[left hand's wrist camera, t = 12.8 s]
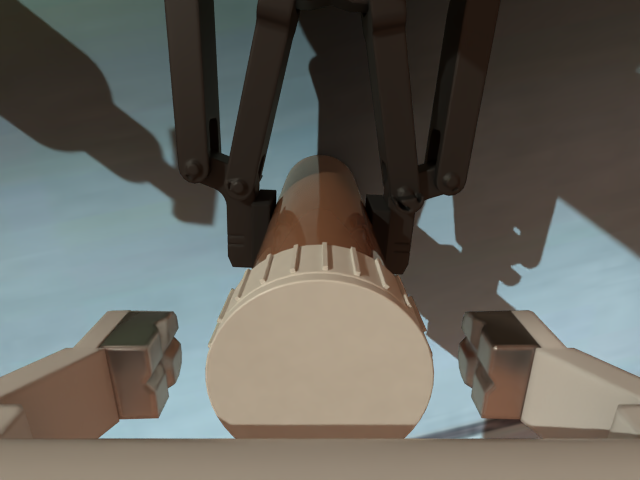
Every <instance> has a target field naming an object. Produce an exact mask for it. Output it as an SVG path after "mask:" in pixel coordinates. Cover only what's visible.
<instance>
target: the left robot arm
mask: <svg viewBox="0 0 640 480" xmlns="http://www.w3.org/2000/svg"><path fill="white" fill-rule="evenodd" d="M178 328H179V327H178V322H177V316H176V314H175V313H174V312H173V311H131V310H120V311H107V312H106V314H105V315H104V316H103V317H102V318H101V319H100V320H99V321H98V322H97V323H96V324H95V325H94V326H93V327H92V328H91V329H90V331H89V332H88V333H87V334H86V335H85V336H84V337H83V338H82V339H81V340H80V341H79V342H78V343H77V344H76V345H75V346H74V348H65V349H63V350H60V351H58V352H56V353H54V354H51V355H49V356H47V357H45V358H42V359H40V360H38V361H36V362H33V363H31V364H29V365H27V366H24V367H22V368H20V369H18V370H15V371H13V372H11V373H9V374H6V375H4V376H2V377H0V480H640V377H638V376H636V375H633V374H631V373H629V372H627V371H624V370H622V369H620V368H618V367H615V366H613V365H611V364H609V363H606V362H604V361H602V360H600V359H597V358H595V357H593V356H591V355H589V354H586V353H584V352H582V351H580V350H577V349H575V348H567V347H566V346H565V345H564V344H563V343H562V342H561V341H560V340H559V339H558V338H557V337H556V336H555V335H554V334H553V333H552V331H551V330H550V329H549V328H548V327H547V326H546V325H545V324H544V323H543V322H542V321H541V320H540V319H539V318H538V317H537V316H536V314H535V313H534V312H532V311H529V310H520V311H478V312H465V314H464V317H463V321H462V330H463V331H464V333H465V335H466V337H465V338H464V339H463V340H462V342H461V343H460V344H459V352H458V361H459V369H460V373H461V376H462V379H463V381H464V383H465V384H466V385H468V386H469V387H471V388H472V394H471V398H472V400H473V402H474V404H475V406H476V408H477V410H478V412H479V414H480V416H481V418H494V419H521V422H522V423H524V424H525V425H526V426H527V427H529V428H530V429H531V430H532V431H534V432H535V433H536V434H537V435H539V436H540V437H541V438H542V439H98V438H99V437H100V436H102V435H103V434H104V433H105V432H107V431H108V430H109V429H110V428H112V427H113V426H114V425H115V424H117V423H118V422H119V419H145V418H159V416H160V414H161V412H162V410H163V408H164V406H165V404H166V402H167V400H168V398H169V394H168V388H169V387H171V386H172V385H174V384H175V383H176V381H177V379H178V376H179V374H180V369H181V364H182V350H181V344H180V343H179V342H178V340H177V339H176V338H175V337H174V335H175V333H176V332H177V330H178Z"/></svg>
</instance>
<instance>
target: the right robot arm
mask: <svg viewBox="0 0 640 480" xmlns="http://www.w3.org/2000/svg"><path fill="white" fill-rule="evenodd" d="M164 2H165V13H166V25H167V37H168V49H169V60H170V72H171V84H172V96H173V107H174V119H175V131H176V142H177V154H178V166H179V171H180V174H181V176H182V177H183V178H184V179H185V180H186V181H188V182H190V183H202V184H204V185H207V186H209V187H212V188H214V189H216V190H218V191H219V192H220V193H221V194H222V195H223V196H224V198H225V200H226V204H227V233H228V257H229V259H230V262H231V264H232V266H233V267H247V268H253V265H254V262H255V260H256V257H257V254H258V252H259V249H260V247H261V244H262V241H263V239H264V236H265V233H266V231H267V228H268V225H269V223H270V220H271V217H272V215H273V212H274V210H275V207H276V190H262V189H260V191H259V182H260V180H261V178H262V176H263V175H262V171H263V167H264V162H265V158H266V153H267V149H268V145H269V140H270V136H271V132H272V127H273V123H274V118H275V114H276V110H277V105H278V101H279V97H280V92H281V88H282V84H283V79H284V75H285V70H286V66H287V62H288V57H289V53H290V49H291V44H292V40H293V36H294V34H295V31H296V27H297V23H298V18H299V14H300V9H302V10H314V9H318V8H322V7H326V6H335V7H338V8H340V9H343V10H346V11H349V12H356V13H361V18H362V26H363V33H364V38H365V41H366V48H367V56H368V64H369V72H370V81H371V89H372V97H373V105H374V113H375V122H376V130H377V138H378V146H379V154H380V163H381V171H382V179H383V186H384V195H383V196H382V195H366V205H365V208H366V211H367V214H368V216H369V219H370V222H371V224H372V227H373V230H374V233H375V235H376V238H377V241H378V243H379V246H380V249H381V252H382V254H383V257H384V260H385V262H386V265H387V268H388V270H389V271H390V272H391V273H392V274H403V273H404V271H405V269H406V267H407V266H408V262H409V255H410V247H411V239H412V232H413V224H414V216H415V212H417V211H418V210H419V209H420V208H421V207H422V205H423V203H424V201H425V200H427V199H429V198H433V197H436V196H439V195H443V194H445V195H448V196H450V195H455V194H457V193H459V192H460V191H461V190H462V189H463V188H464V186H465V183H466V179H467V174H468V168H469V163H470V158H471V153H472V147H473V142H474V137H475V132H476V126H477V121H478V116H479V111H480V105H481V100H482V95H483V90H484V84H485V79H486V74H487V69H488V63H489V58H490V53H491V48H492V42H493V37H494V32H495V27H496V21H497V16H498V11H499V6H500V0H450V3H449V8H448V13H447V19H446V25H445V32H444V38H443V45H442V51H441V58H440V64H439V71H438V77H437V84H436V90H435V97H434V103H433V110H432V116H431V123H430V129H429V136H428V142H427V149H426V155H425V162H424V164H420V165H418V162H417V151H416V140H415V130H414V119H413V108H412V97H411V86H410V76H409V65H408V54H407V43H406V31H405V27H406V16H407V14H406V1H405V0H258V4H257V19H256V26H255V31H254V36H253V41H252V46H251V51H250V56H249V61H248V66H247V71H246V76H245V81H244V86H243V91H242V96H241V101H240V106H239V111H238V116H237V121H236V126H235V131H234V136H233V141H232V146H231V151H230V156H227V155H224V154H222V153H221V137H220V117H219V97H218V77H217V57H216V38H215V18H214V0H164Z"/></svg>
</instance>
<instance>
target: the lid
mask: <svg viewBox="0 0 640 480" xmlns="http://www.w3.org/2000/svg"><path fill="white" fill-rule="evenodd" d="M217 322H218V323H217V325H216V328H215V330H214V332H213V335H212V337H211V339H210V341H209V344H208V347H209V348H210V349H209V352H208V355H207V361H206V368H205V371H206V386H207V392H208V396H209V399H210V402H211V405H212V407H213V409H214V411H215V413H216V415H217V417H218V418H219V420H220V421H221V423H222V424H223V426H224V427H225V428H226V429H227V430H228V431H229V432H230V434H231V435H232V436H233V437H234V438H236V439H404V438H405V437H406V436H407V435H408V434H409V433H410V432H411V431H412V430H413V429H414V427H415V426H416V425H417V423H418V422H419V421H420V419H421V417H422V415H423V414H424V412H425V410H426V408H427V405H428V403H429V400H430V397H431V393H432V388H433V381H434V368H433V359H432V351H431V349H430V346H429V344H428V342H427V339H426V337H425V334H424V332H425V331H426V328H425V326H424V323H423V321H422V319H421V316H420V314H419V312H418V309H417V307H416V305H415V303H414V300H413V298H412V296H411V297H408V295H407V293H406V291H405V288H404V286H403V283H402V281H401V279H400V277H399V276H398V275H397V276H396V277H395V276H394V275H393V274H392V273H391V272H390V271H389V270H388V269H387V268H385V267H384V266H383V265H382V263H381V260H380V259H378V258H377V259H376V260H374V259H373V258H371V257H369V256H367V255H365V254H363V253H361V252H358V251H356V248H354V247H351V248H350V249H349V248H344V247H340V246H334V245H327V242H323V243H322V245H306V246H300V247H299V245H298V244H296V245H294V247H293V248H291V249H288V250H284V251H282V252H279V253H277V254H275V255H272V254H271V253H270V254H268V255H267V258H266V259H265V260H264V261H262V262H260V263H259V264H258V265H257V266H255V267H254V268H253V269H252V270H250V269H247V270H246V271H245V274H244V276H243V279H242V280H241V282H240V283H239V284H238V286H237V287H236V289H235V290H234V289H231V291H230V293H229V295H228V297H227V300H226V302H225V304H224V306H223V309H222V311H221V313H220V315H219V318H218V320H217Z"/></svg>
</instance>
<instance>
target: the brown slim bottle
mask: <svg viewBox="0 0 640 480" xmlns="http://www.w3.org/2000/svg"><path fill="white" fill-rule="evenodd" d="M323 242H327V245H334V246H340V247H344V248H349V249H350V248H351V247H354V248H356V251H358V252H361V253H363V254H365V255H367V256H369V257H371V258H373V259H374V260H376V259H377V258H378V259H380V260H381V263H382V265H383V266H384V267H385V268H387V265H386V262H385V260H384V257H383V254H382V252H381V249H380V246H379V243H378V241H377V238H376V235H375V233H374V230H373V227H372V224H371V222H370V219H369V216H368V214H367V211H366V208H365V206H364V203H363V200H362V197H361V195H360V192H359V189H358V187H357V184H356V181H355V178H354V176H353V174H352V172H351V171H350V169H349V168H348V167H347V166H346V165H345V164H344V163H343V162H341V161H340V160H338V159H336V158H334V157H331V156H326V155H315V156H310V157H307V158H305V159H303V160H301V161H300V162H298V163H297V164H296V165H295V166H294V167H293V168H292V169H291V170H290V172H289V174H288V176H287V178H286V180H285V183H284V186H283V188H282V191H281V194H280V196H279V199H278V202H277V204H276V207H275V210H274V212H273V215H272V217H271V220H270V223H269V225H268V228H267V231H266V233H265V236H264V239H263V241H262V244H261V247H260V249H259V252H258V254H257V257H256V260H255V262H254V265H253V268H254V267H255V266H257V265H258V264H259V263H260V262H262V261H264V260H265V259H266V258H267V255H268V254H270V253H271V254H272V255H275V254H277V253H279V252H282V251H284V250H288V249H291V248H293V247H294V245H296V244H298V245H299V247H300V246H306V245H322V243H323ZM253 268H252V269H253ZM387 269H388V268H387Z"/></svg>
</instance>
